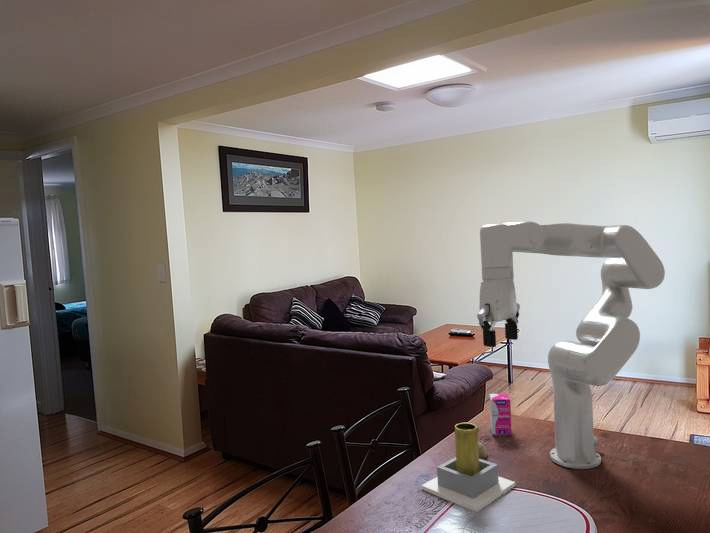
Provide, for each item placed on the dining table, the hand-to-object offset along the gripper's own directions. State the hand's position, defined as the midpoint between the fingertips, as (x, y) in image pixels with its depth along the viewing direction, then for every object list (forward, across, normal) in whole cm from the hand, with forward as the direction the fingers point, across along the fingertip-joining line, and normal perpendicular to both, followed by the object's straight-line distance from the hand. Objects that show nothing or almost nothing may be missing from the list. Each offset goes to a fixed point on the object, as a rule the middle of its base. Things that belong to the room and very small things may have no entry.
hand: (501, 342), depth 129 cm
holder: (+34, +11, -4) cm, 36 cm away
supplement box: (+34, -24, -17) cm, 45 cm away
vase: (+33, +11, -4) cm, 35 cm away
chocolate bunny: (+34, -4, -13) cm, 37 cm away
